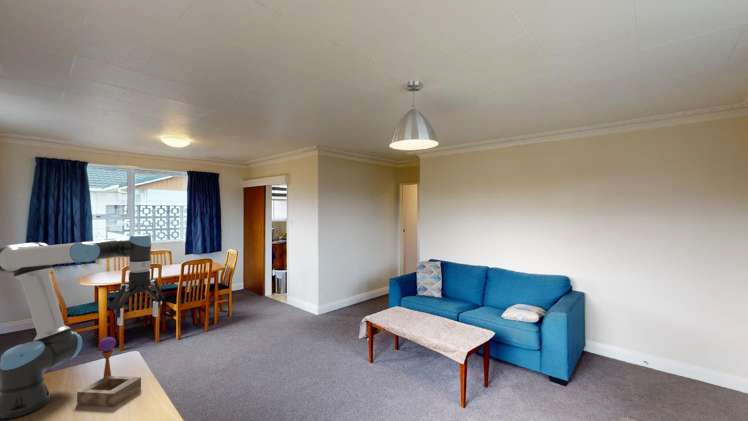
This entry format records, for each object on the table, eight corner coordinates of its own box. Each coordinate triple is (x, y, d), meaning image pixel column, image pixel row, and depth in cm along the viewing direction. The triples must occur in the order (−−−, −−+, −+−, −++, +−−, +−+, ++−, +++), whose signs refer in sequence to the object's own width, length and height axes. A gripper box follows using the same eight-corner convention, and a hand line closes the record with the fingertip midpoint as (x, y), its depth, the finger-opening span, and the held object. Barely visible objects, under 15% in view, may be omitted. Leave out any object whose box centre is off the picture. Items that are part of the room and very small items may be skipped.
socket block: (76, 404, 129) (77, 391, 129) (107, 387, 142) (107, 375, 142) (113, 406, 127) (113, 393, 127) (140, 389, 140) (141, 377, 140)
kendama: (103, 386, 143) (104, 340, 143) (95, 384, 145) (95, 338, 145) (118, 380, 148) (118, 336, 148) (110, 378, 150) (110, 334, 151)
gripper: (109, 276, 128) (108, 330, 127) (174, 267, 150) (172, 314, 149) (100, 274, 131) (98, 327, 131) (164, 266, 153) (163, 311, 153)
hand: (138, 320), depth 140 cm, fingers open, 13 cm apart
